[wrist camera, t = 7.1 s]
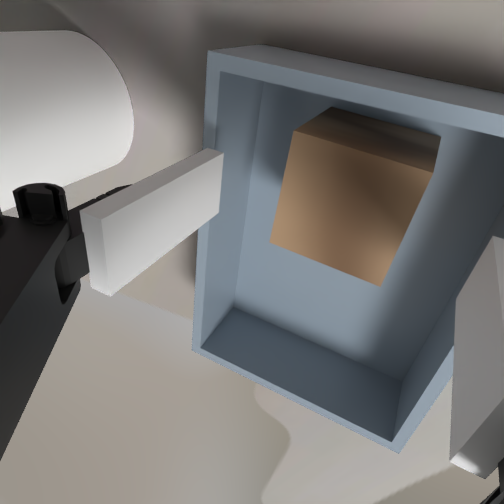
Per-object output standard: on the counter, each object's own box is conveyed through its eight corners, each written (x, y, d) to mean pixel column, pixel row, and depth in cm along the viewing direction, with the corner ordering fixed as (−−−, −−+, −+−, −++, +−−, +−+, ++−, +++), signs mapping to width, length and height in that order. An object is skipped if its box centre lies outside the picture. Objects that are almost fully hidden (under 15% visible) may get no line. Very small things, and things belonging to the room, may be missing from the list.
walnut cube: (306, 200, 21) (269, 242, 17) (331, 106, 18) (293, 130, 14) (397, 233, 19) (380, 287, 15) (441, 137, 16) (433, 173, 12)
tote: (262, 44, 18) (207, 50, 14) (574, 107, 14) (613, 139, 11) (229, 305, 28) (191, 350, 24) (409, 384, 24) (399, 453, 20)
